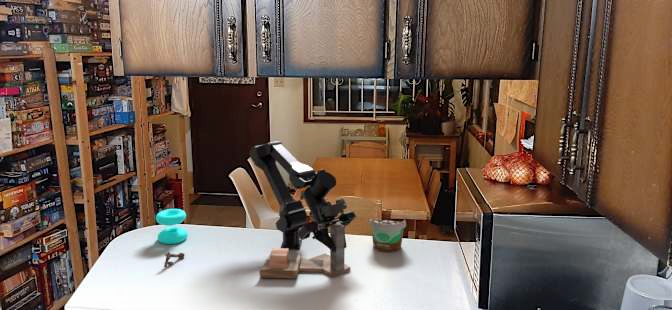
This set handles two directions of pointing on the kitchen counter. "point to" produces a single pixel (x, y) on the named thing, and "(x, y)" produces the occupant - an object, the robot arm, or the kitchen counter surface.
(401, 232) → the food container
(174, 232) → the donuts
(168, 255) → the dark triangular frame
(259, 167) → the robot arm
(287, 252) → the block
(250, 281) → the kitchen counter surface
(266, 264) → the pull board
